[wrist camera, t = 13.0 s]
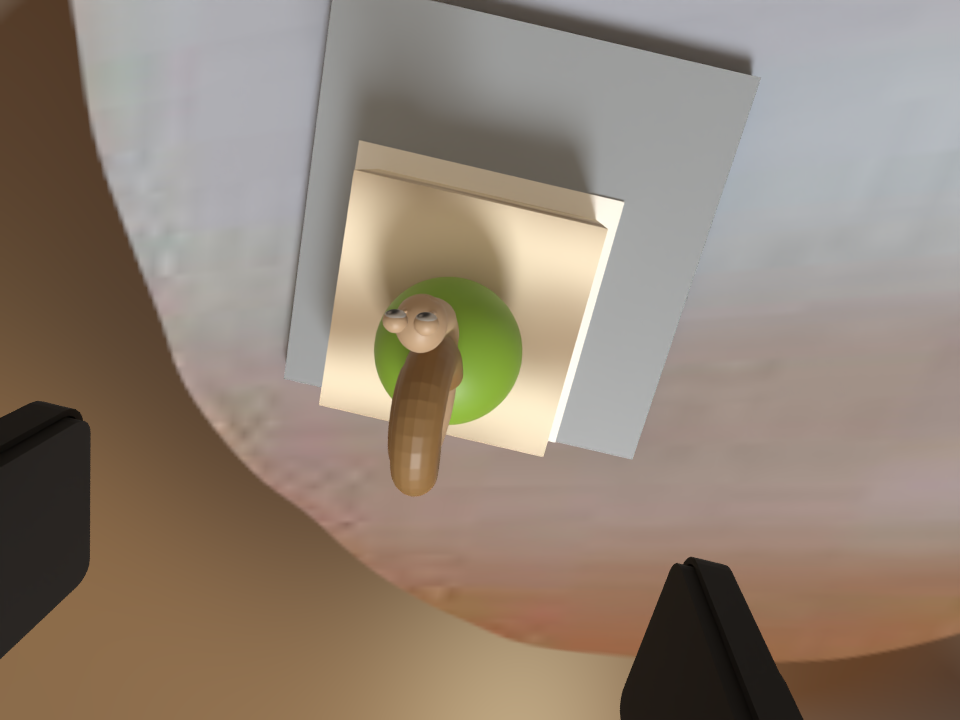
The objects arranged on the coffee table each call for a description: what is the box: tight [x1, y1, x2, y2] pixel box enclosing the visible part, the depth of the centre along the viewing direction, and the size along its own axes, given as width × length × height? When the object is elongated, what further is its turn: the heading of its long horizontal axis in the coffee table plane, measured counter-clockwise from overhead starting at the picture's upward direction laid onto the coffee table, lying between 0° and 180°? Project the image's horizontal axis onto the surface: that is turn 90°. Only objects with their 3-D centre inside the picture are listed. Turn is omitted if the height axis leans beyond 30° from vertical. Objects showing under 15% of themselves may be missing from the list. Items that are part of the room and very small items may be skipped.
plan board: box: [284, 0, 761, 459], centre depth 28 cm, size 18×18×1 cm
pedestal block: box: [319, 169, 608, 457], centre depth 27 cm, size 10×10×4 cm
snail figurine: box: [374, 277, 522, 496], centre depth 19 cm, size 5×6×12 cm
